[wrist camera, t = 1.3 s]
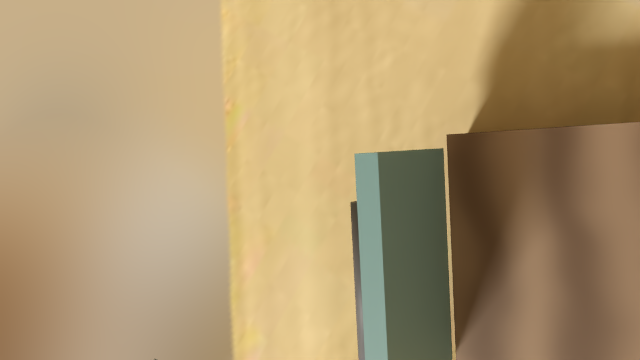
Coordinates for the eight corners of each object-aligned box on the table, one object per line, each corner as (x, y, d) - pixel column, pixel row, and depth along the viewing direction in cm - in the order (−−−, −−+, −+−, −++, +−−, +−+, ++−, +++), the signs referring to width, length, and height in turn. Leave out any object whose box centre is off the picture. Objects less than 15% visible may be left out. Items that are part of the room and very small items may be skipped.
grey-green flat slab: (443, 148, 40) (377, 152, 31) (452, 359, 41) (390, 425, 31) (409, 150, 41) (336, 154, 32) (418, 353, 42) (350, 415, 33)
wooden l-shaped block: (746, 116, 34) (787, 108, 23) (750, 392, 35) (791, 509, 24) (467, 134, 44) (402, 134, 33) (475, 350, 45) (416, 420, 34)
